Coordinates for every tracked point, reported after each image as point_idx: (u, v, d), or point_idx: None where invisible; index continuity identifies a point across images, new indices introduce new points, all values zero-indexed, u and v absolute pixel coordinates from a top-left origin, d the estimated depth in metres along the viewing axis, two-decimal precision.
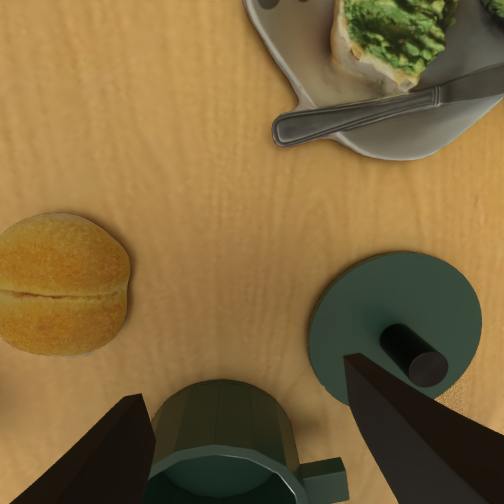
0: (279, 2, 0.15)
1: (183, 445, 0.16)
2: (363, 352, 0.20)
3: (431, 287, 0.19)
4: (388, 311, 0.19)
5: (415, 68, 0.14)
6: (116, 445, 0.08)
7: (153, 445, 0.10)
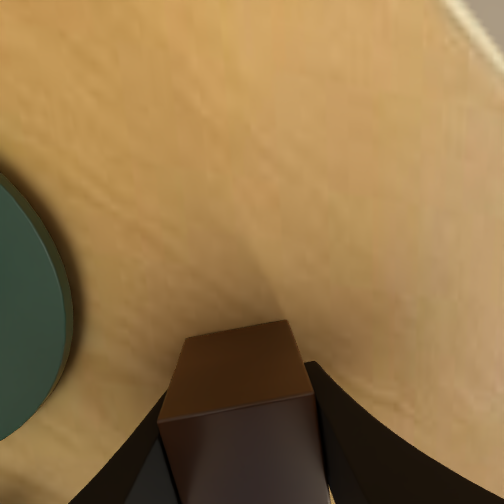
0: None
1: None
2: None
3: None
4: None
5: None
6: None
7: None
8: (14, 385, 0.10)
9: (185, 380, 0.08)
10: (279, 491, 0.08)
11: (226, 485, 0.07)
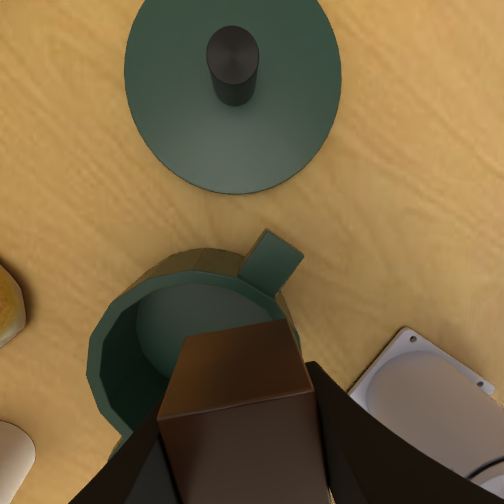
0: None
1: None
2: (220, 127, 0.17)
3: None
4: (197, 65, 0.16)
5: None
6: None
7: None
8: (304, 139, 0.17)
9: (185, 378, 0.08)
10: (279, 489, 0.08)
11: (227, 482, 0.07)
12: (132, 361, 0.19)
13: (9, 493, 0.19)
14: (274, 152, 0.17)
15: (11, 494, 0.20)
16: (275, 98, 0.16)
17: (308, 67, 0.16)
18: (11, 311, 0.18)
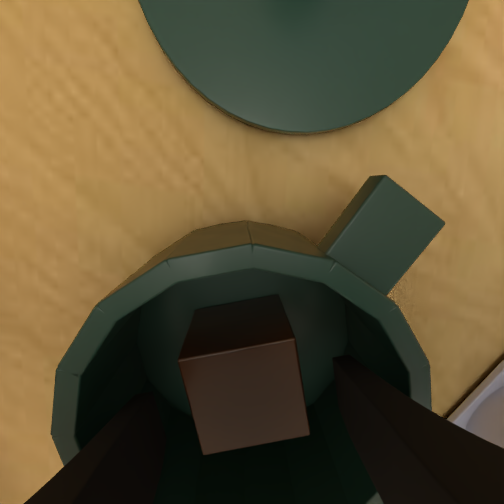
0: None
1: None
2: (281, 15, 0.10)
3: None
4: None
5: None
6: (130, 442, 0.08)
7: (164, 443, 0.10)
8: (415, 41, 0.10)
9: (197, 335, 0.11)
10: (270, 417, 0.10)
11: (230, 411, 0.10)
12: (132, 393, 0.12)
13: None
14: (365, 62, 0.11)
15: None
16: None
17: None
18: None
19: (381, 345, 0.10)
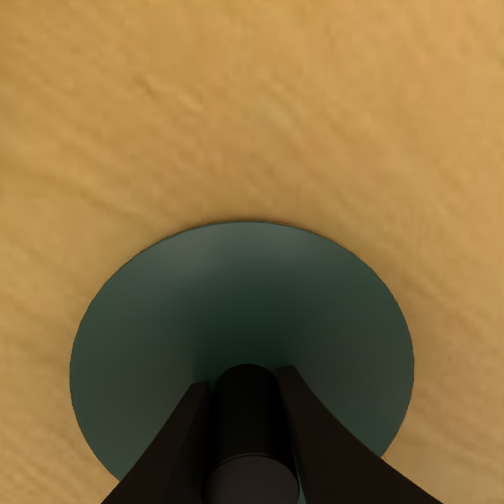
0: None
1: None
2: None
3: (207, 285, 0.09)
4: (188, 371, 0.10)
5: None
6: (198, 430, 0.08)
7: None
8: None
9: None
10: None
11: None
12: None
13: None
14: None
15: None
16: None
17: (364, 368, 0.10)
18: None
19: None
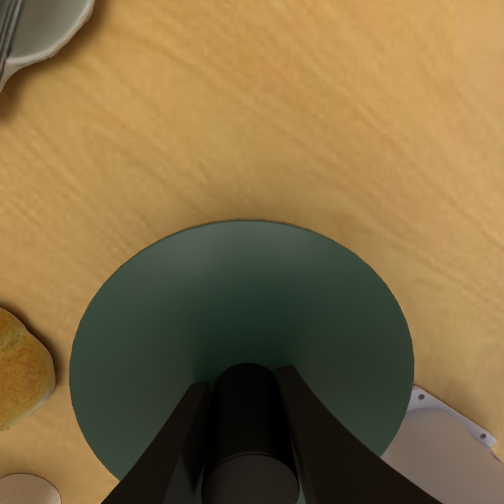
0: None
1: None
2: None
3: (207, 284, 0.09)
4: (188, 370, 0.10)
5: None
6: (198, 430, 0.08)
7: None
8: None
9: None
10: None
11: None
12: None
13: None
14: None
15: None
16: None
17: (364, 368, 0.10)
18: (44, 382, 0.19)
19: None
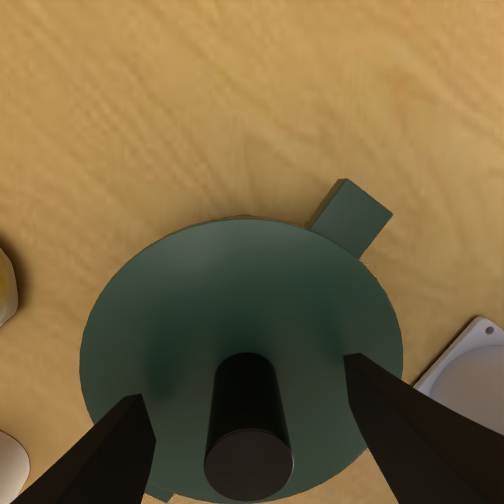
0: None
1: None
2: None
3: (209, 278, 0.10)
4: (190, 359, 0.11)
5: None
6: (116, 445, 0.08)
7: (153, 445, 0.10)
8: (345, 439, 0.12)
9: None
10: None
11: None
12: None
13: None
14: (301, 456, 0.12)
15: None
16: (305, 394, 0.11)
17: None
18: None
19: None
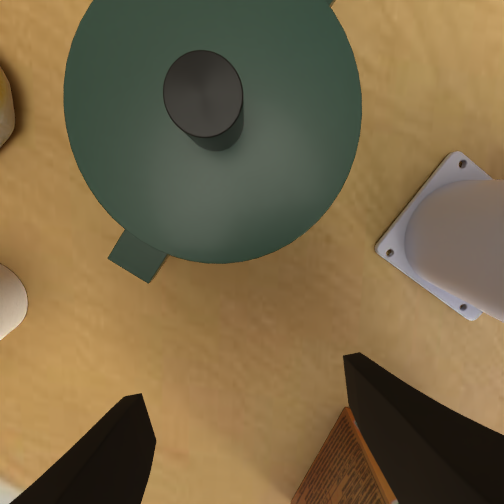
0: None
1: None
2: (196, 177, 0.12)
3: (179, 5, 0.11)
4: None
5: None
6: (116, 445, 0.08)
7: (153, 445, 0.10)
8: (309, 194, 0.13)
9: None
10: None
11: None
12: None
13: None
14: (269, 211, 0.13)
15: None
16: (271, 140, 0.12)
17: (317, 100, 0.12)
18: None
19: None
